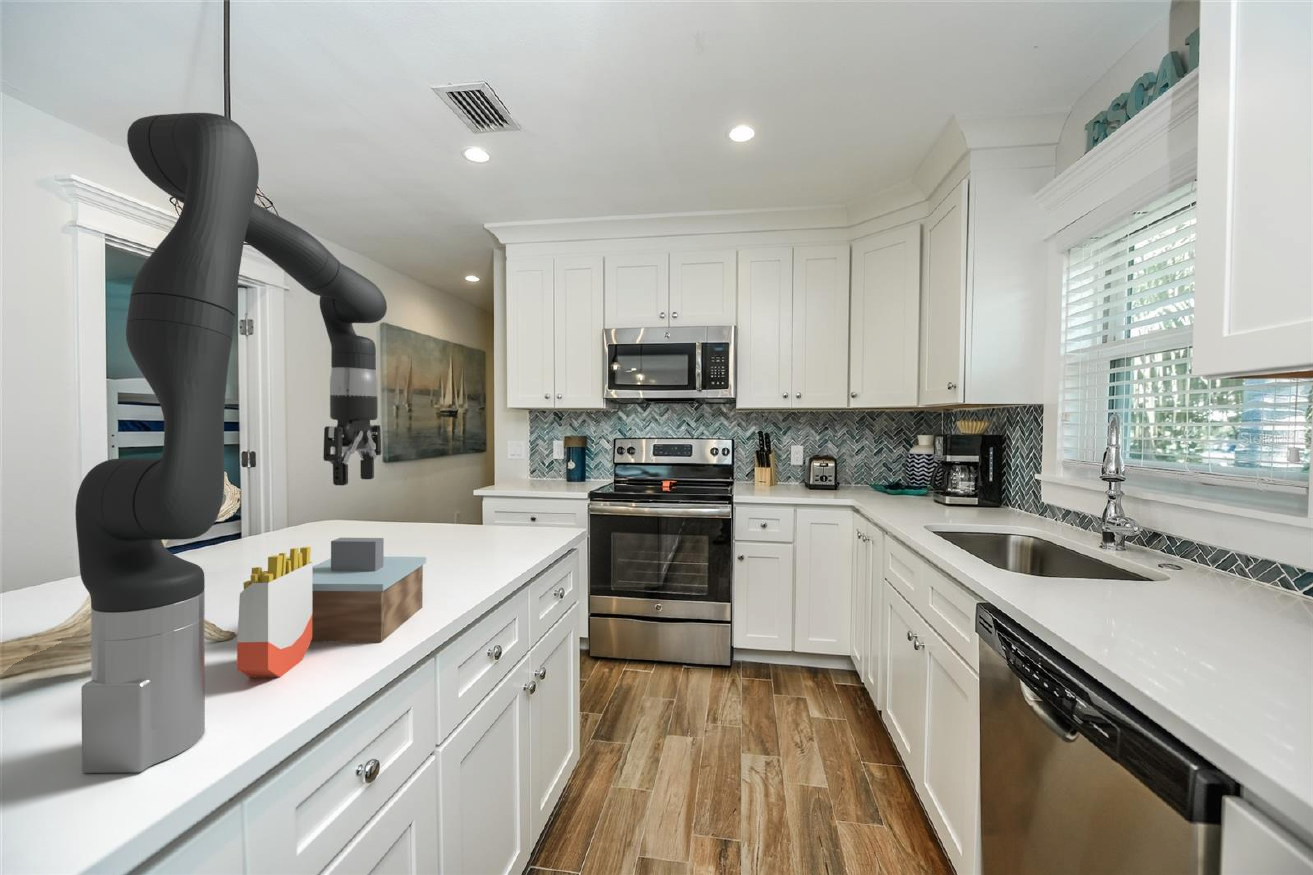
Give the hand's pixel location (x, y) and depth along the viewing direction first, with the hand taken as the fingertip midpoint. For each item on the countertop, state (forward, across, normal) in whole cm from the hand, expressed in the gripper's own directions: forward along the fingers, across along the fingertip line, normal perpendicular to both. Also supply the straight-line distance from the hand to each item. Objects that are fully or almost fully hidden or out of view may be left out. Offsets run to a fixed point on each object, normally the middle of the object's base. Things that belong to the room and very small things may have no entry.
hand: (354, 482), depth 95 cm
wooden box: (+26, 0, 0) cm, 27 cm away
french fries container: (+26, -18, +2) cm, 32 cm away
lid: (+19, 0, 0) cm, 19 cm away
